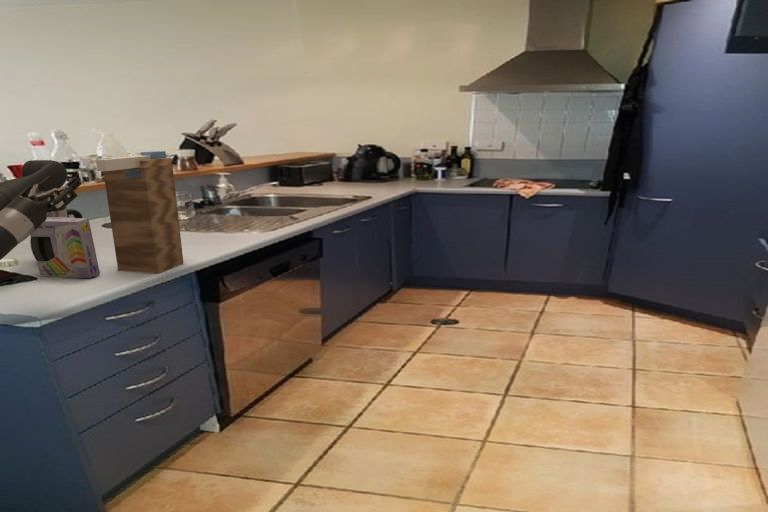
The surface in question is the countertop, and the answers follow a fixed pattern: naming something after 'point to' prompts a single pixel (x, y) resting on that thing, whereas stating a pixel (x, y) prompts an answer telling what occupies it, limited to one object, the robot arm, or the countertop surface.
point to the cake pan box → (65, 248)
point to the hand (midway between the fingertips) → (65, 179)
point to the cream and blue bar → (128, 161)
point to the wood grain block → (144, 217)
